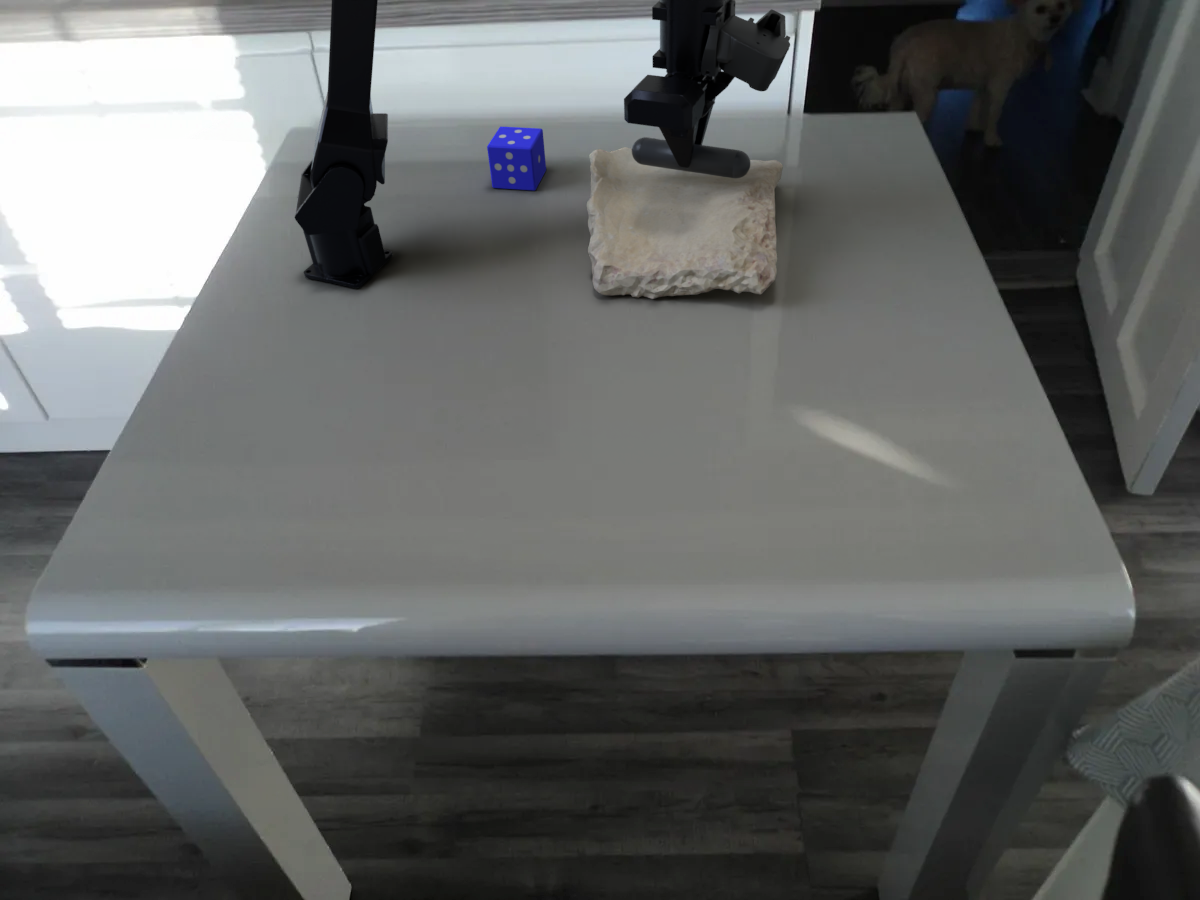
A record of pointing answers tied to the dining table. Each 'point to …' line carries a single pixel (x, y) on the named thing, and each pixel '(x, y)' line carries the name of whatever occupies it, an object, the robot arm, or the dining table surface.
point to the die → (517, 158)
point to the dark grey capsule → (693, 158)
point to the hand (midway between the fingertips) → (689, 160)
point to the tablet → (680, 228)
